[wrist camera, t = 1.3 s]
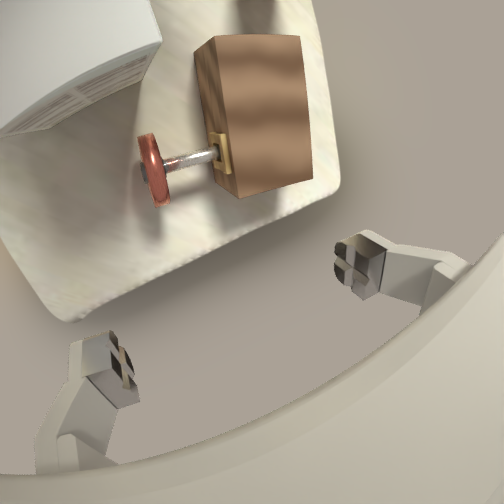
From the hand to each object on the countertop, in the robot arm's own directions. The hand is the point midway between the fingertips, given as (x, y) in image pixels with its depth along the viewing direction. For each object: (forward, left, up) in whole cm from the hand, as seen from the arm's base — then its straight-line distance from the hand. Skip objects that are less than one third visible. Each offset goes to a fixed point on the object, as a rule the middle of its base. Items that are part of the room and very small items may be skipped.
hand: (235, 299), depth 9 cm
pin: (0, +5, -27) cm, 28 cm away
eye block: (-4, +13, -28) cm, 31 cm away
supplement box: (-16, -6, -29) cm, 33 cm away
